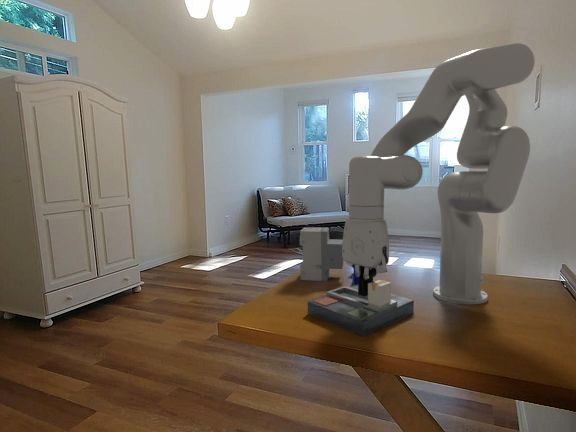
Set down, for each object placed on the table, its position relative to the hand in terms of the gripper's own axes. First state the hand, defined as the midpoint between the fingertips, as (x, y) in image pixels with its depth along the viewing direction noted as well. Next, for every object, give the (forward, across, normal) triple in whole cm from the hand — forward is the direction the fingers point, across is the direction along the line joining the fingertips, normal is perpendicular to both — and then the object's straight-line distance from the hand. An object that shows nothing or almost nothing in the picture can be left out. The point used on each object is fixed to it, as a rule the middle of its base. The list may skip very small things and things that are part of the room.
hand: (365, 294), depth 82 cm
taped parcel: (+2, +4, 0) cm, 4 cm away
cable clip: (+5, -20, +21) cm, 29 cm away
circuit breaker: (+5, -28, +14) cm, 32 cm away
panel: (+5, -1, 0) cm, 5 cm away
